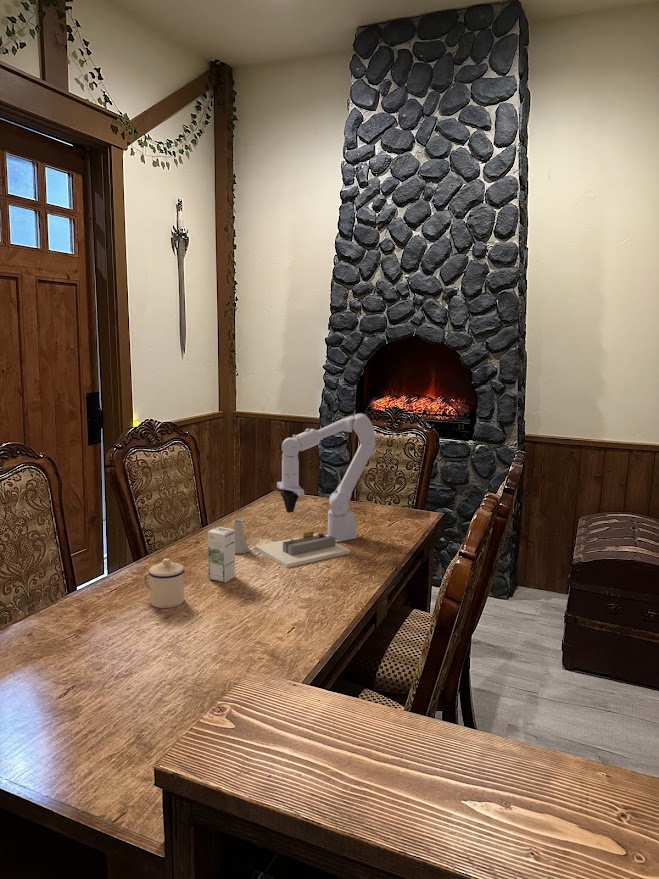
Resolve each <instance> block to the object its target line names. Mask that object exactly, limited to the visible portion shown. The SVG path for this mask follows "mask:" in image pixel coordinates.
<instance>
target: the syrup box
mask: <svg viewBox="0 0 659 879" xmlns="http://www.w3.org/2000/svg"><path fill="white" fill-rule="evenodd" d="M207 549H208V550H207V552H208V554H207V557H208V560H207V561H208V580H211V581H215V582H221V583H224V584H225V583H227V582H229V581H230V579H231V580H233V579H234V578H235V577H236V554H235V530H234V528H229V527H221V526H217V527H214V528H211V529H210V530H208V531H207Z"/></svg>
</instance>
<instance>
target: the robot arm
mask: <svg viewBox="0 0 659 879" xmlns="http://www.w3.org/2000/svg"><path fill="white" fill-rule="evenodd" d="M353 431H354V432H355V434H356V435H357V437H358V441H359V443H360V444H359V446H358V448H357V450H356V452H355V454H354V456H353V457H352V460H351V461H350V464H349V466H348V468H347V470H346V472H345V474H344V475H343V478H342V479H341V482H340V484H338V486H337V487H336V488H335V490H334V491H333V492H332V493H331V494H330V495H329V497H328V503H329V508H330V509H329V510H328V511H327V534H324V535H325V536H326V537H328V536H333V537H336V543H339V542H343V541H348V540H354V539H357V538H358V536H357V534H356V533H357V531H356V530H357V529H356V528H357V520H356V515H355V514H354V512H353V511H350V510H349V506H350V505H349V502H350V500H351V498H352V494H353V491H354V489H355V487H356V485H357V483H358V482H359V479H360V477H361V475H362V473H363V471H364V469H365V467H366V465H367V463H368V461H369V459H370V457H371V455H372V453H373V451H374V449H375V447H376V437H375V427H374V425H373V423H372V420H370V419H369V417H368V416H367V415H366V414H365V413H362V412H359V413H356V414H354V415H349V416H346V417H343V418H341V419H339V420H337V421H334V422H332V423H331V424H329V425H326V426H324V427H322V428H319V429H314V428H309V427H308V428H306V429H305V430H304V431H303V432H301V433H298V434H292V437H287V438H285V439H284V440H283V441H282V444H281V452H282V454H281V458H282V459H281V481H277V482H276V488H278V489H279V490H283V491H280V496H281V498H282V500H283V503H284V506H285V512H287V513H294V512H295V511H294V510H295V507H296V503H297V502H298V499H299V497H300V496H305V488H304V489H303V488H302V487H301V486H300V485H299V480H300V477H299V476H300V475H299V474H300V473H299V472H300V471H299V470H300V469H299V466H300V465H299V463H300V461H299V452H303V451H305V450H307V449H308V450H309V449H311V448H312V447H316V446H317V445H319V444H320V442H321V440H322V439H325V438H327V437H330V436H333V435H336V434H339V433H341V432H348V433H353Z"/></svg>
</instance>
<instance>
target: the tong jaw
mask: <svg viewBox="0 0 659 879" xmlns="http://www.w3.org/2000/svg"><path fill="white" fill-rule="evenodd" d="M325 535H326V534H324V533H322V532H321V533H320V532H319V533H318V534H317V535H316V536H311V537H306V538H301V539H296V540H291V541H286V542H283V551H284V552H285V553H288V545H289V544H293V543H298V542H303V541H308V540H313V539H318V538H323V537H326V536H325Z"/></svg>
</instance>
